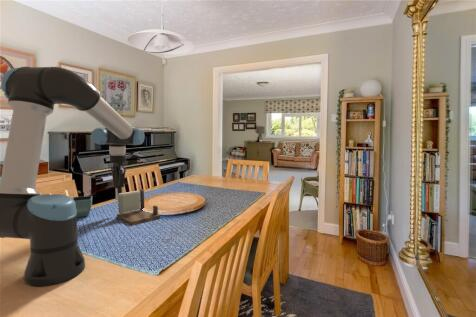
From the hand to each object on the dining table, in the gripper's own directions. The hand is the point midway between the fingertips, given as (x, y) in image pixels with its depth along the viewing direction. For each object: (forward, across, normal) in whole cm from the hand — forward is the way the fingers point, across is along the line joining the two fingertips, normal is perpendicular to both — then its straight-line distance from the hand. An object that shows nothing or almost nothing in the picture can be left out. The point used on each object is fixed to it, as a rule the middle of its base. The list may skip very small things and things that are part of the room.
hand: (119, 199), depth 136 cm
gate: (+5, -6, -3) cm, 9 cm away
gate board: (+7, -12, -4) cm, 15 cm away
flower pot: (+8, +10, +14) cm, 19 cm away
